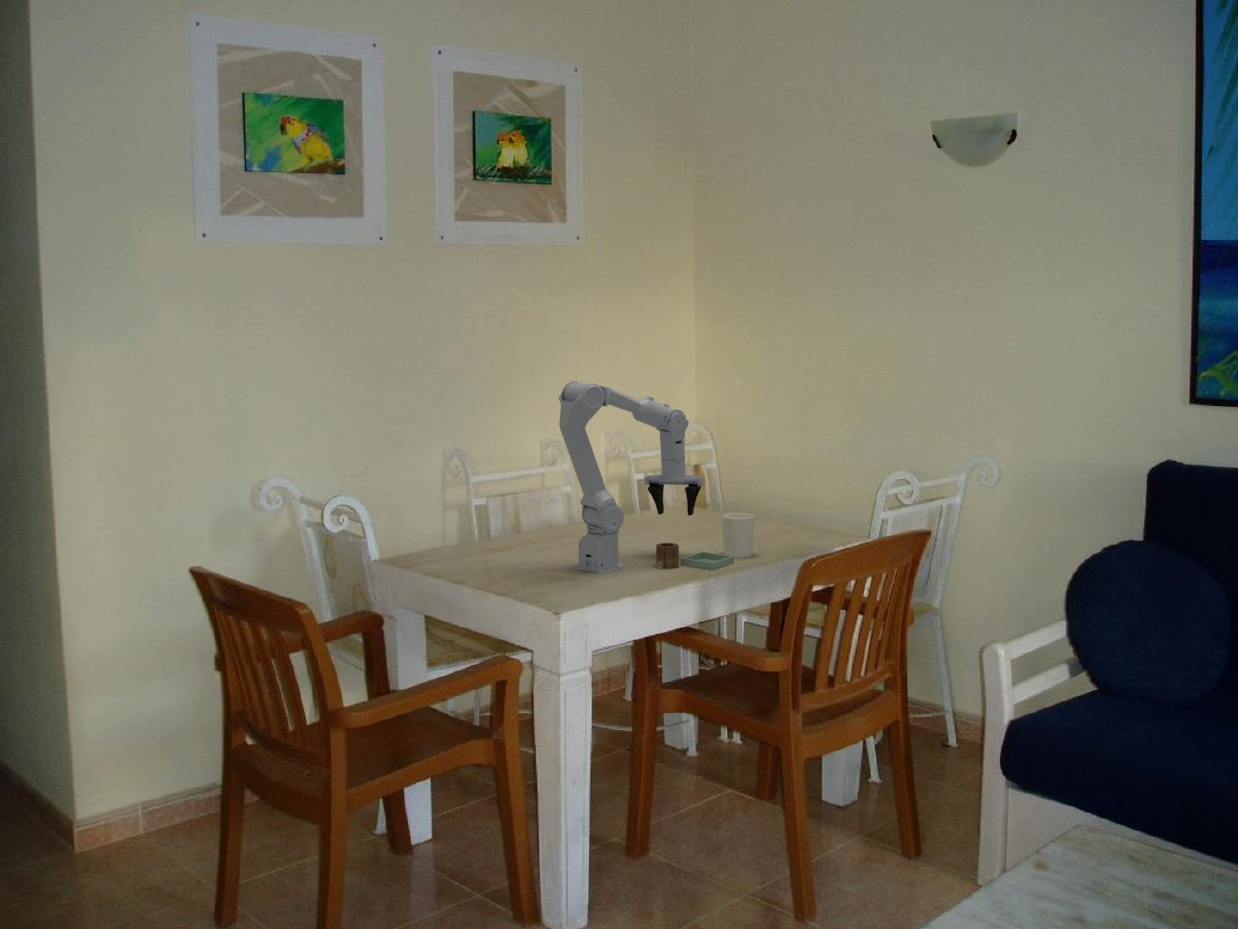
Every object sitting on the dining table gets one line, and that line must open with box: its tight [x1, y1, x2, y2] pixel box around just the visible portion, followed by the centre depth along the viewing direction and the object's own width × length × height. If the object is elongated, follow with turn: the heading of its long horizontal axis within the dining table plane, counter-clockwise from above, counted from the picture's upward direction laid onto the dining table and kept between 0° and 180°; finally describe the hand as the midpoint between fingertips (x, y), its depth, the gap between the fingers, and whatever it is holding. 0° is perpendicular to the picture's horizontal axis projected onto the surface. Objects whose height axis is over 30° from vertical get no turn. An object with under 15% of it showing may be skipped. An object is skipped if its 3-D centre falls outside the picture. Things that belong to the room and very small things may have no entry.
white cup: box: [721, 512, 756, 559], centre depth 311 cm, size 8×8×10 cm
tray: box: [680, 551, 735, 571], centre depth 301 cm, size 9×9×2 cm
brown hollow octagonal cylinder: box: [655, 542, 680, 570], centre depth 299 cm, size 6×5×5 cm
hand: (675, 514), depth 309 cm, fingers open, 7 cm apart
